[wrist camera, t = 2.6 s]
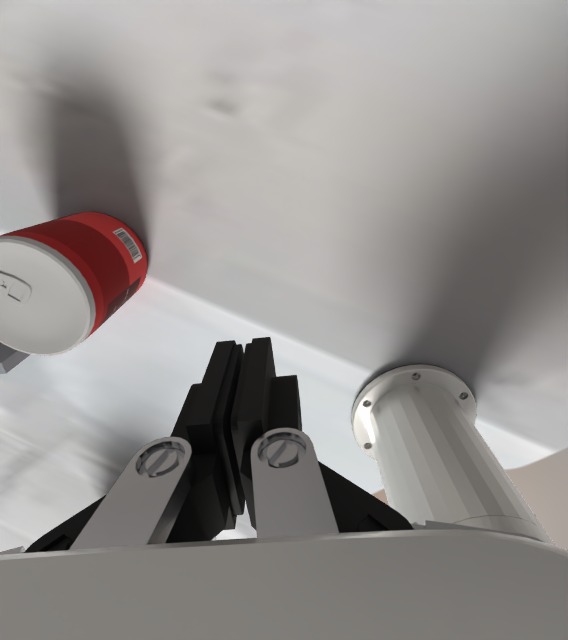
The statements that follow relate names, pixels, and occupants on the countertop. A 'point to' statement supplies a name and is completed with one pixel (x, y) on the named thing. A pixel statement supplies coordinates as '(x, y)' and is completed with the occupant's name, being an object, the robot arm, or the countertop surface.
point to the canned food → (66, 280)
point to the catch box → (10, 358)
